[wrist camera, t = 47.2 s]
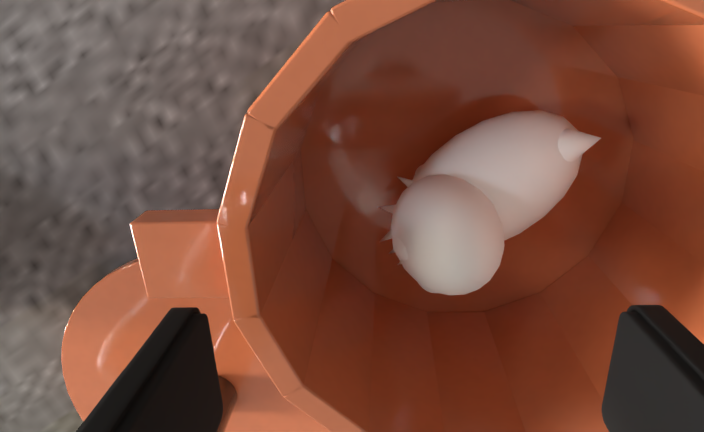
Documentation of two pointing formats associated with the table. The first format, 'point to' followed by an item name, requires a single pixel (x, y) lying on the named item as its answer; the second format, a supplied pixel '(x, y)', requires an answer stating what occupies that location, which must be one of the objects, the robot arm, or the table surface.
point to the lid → (135, 328)
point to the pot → (402, 161)
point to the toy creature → (482, 197)
